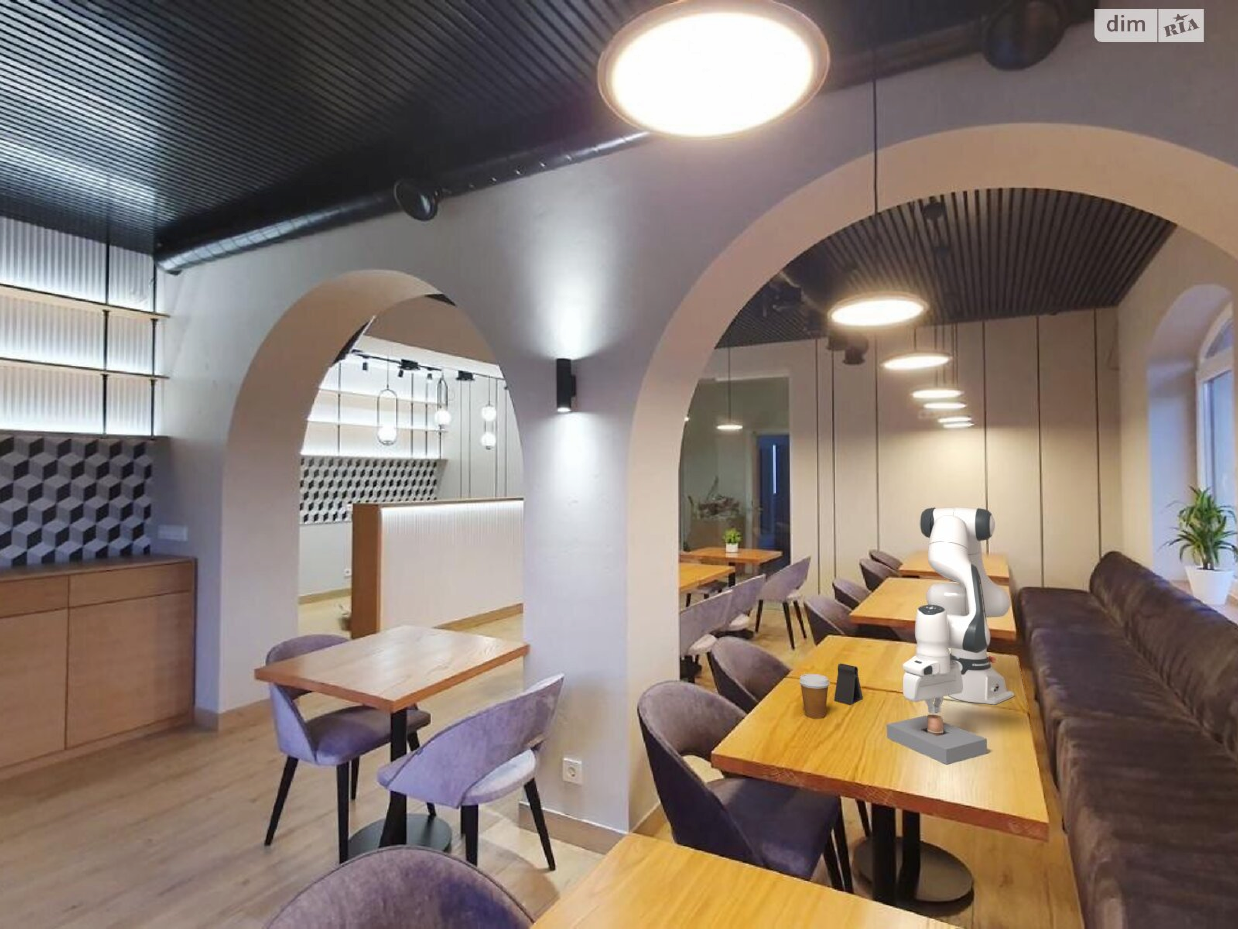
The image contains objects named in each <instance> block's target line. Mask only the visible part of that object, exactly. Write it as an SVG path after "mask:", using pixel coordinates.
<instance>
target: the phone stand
mask: <svg viewBox="0 0 1238 929" xmlns="http://www.w3.org/2000/svg"><path fill="white" fill-rule="evenodd" d="M863 699H864V697H863V693H862V688H861V682H860V678H859V668H858V666H854V665H850V664H845V663H838V666H837V677H836V684H835V692H834V699H833V701H834V702H835V703H837V702H838V703H840V704H844V705H848V706H852V705H854V704H857V703H858V702H860V701H863Z"/></svg>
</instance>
